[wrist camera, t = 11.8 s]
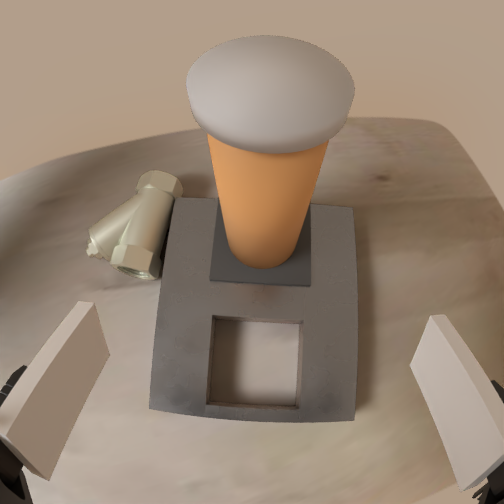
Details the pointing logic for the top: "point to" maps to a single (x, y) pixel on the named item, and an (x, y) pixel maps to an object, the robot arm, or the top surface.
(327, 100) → the orange pill bottle
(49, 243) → the top surface
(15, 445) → the robot arm
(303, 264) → the pad
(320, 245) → the plate
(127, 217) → the pipe fitting
